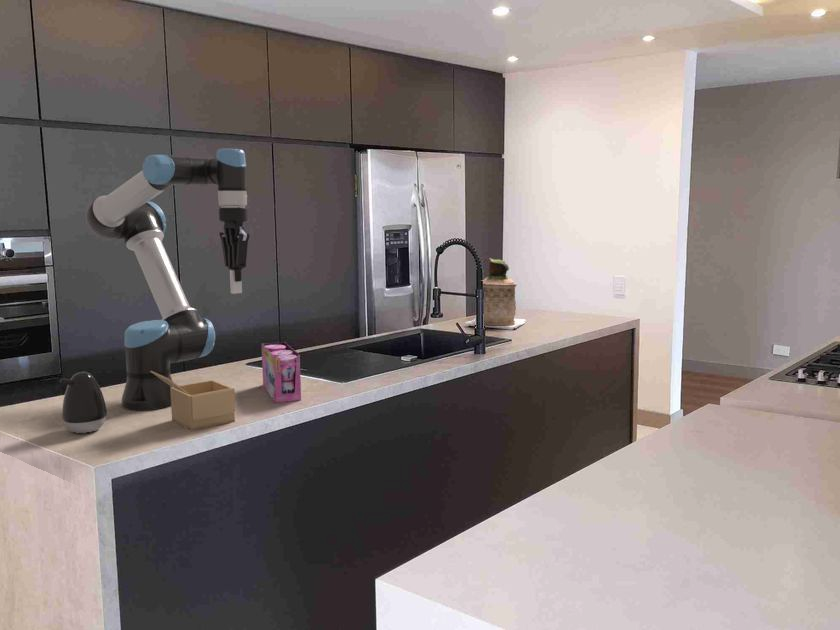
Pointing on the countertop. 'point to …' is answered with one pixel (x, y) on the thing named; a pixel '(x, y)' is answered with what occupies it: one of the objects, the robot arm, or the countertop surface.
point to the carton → (203, 405)
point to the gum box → (281, 371)
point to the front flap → (169, 382)
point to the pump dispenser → (83, 404)
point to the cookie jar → (499, 298)
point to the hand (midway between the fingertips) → (236, 293)
